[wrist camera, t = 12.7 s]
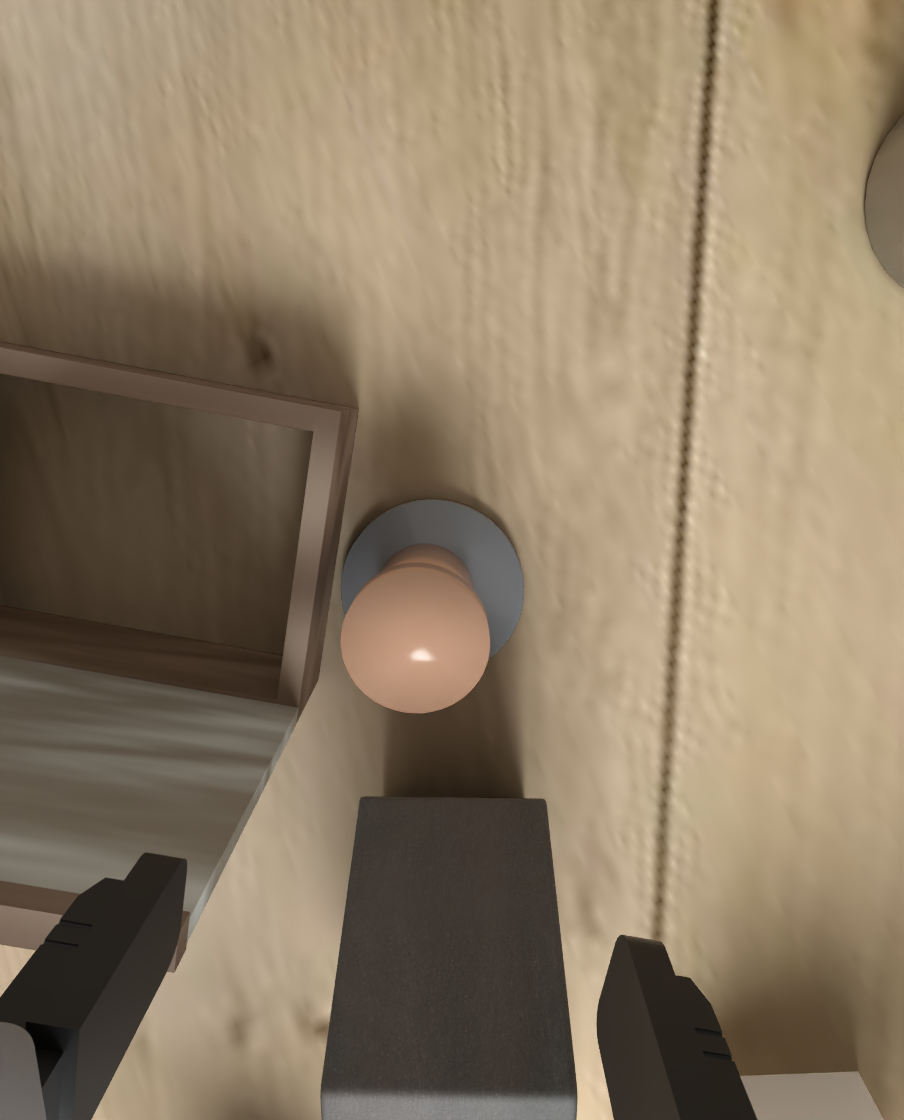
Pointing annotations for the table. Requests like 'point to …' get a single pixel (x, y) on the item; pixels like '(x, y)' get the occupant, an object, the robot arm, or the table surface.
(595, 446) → the table surface
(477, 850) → the planter
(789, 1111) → the milk
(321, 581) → the hinged wooden box
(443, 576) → the round cabinet knob
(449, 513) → the saucer
